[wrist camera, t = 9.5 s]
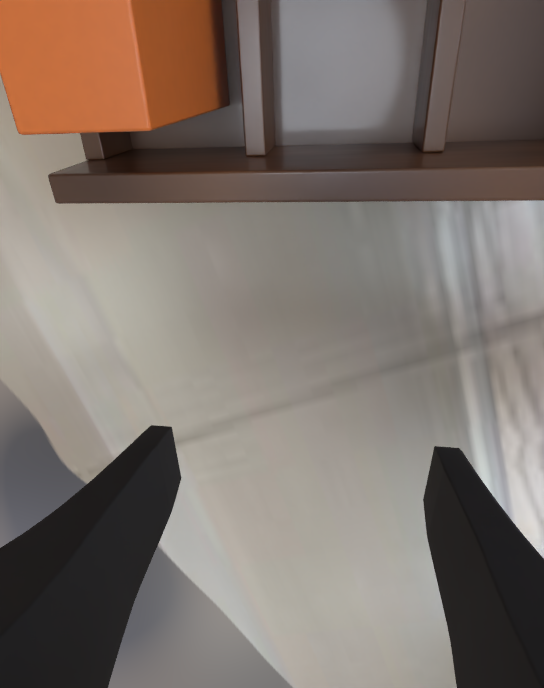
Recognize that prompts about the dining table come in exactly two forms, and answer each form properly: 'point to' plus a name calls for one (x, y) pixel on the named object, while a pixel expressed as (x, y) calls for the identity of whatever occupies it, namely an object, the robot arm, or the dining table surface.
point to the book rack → (347, 110)
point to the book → (111, 63)
